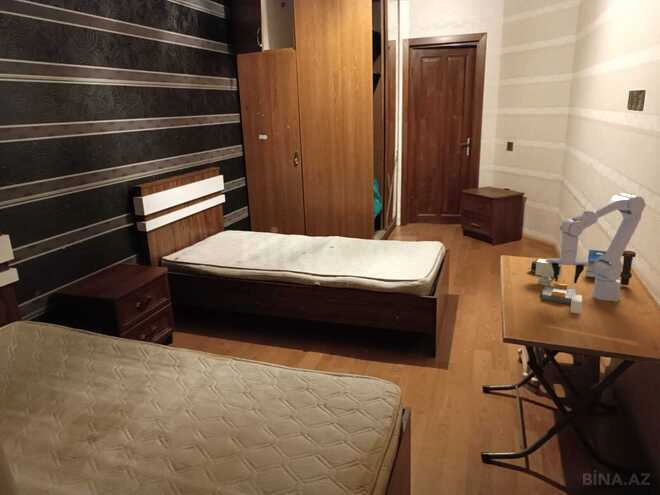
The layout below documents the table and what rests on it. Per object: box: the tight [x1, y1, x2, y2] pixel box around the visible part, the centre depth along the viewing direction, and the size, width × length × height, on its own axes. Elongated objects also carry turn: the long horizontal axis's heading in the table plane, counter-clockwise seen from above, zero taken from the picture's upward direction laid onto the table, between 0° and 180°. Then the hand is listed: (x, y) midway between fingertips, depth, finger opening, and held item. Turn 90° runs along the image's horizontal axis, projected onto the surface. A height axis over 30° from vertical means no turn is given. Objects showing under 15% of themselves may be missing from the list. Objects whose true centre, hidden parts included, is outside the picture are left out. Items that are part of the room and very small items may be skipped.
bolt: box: [619, 250, 637, 286], centre depth 210 cm, size 6×5×15 cm
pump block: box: [570, 294, 583, 315], centre depth 188 cm, size 4×7×5 cm, turn 154°
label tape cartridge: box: [585, 249, 611, 279], centre depth 221 cm, size 9×4×12 cm, turn 61°
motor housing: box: [540, 282, 577, 305], centre depth 200 cm, size 15×12×4 cm
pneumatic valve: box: [530, 258, 563, 286], centre depth 214 cm, size 6×12×12 cm, turn 53°
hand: (565, 281), depth 195 cm, fingers open, 6 cm apart
